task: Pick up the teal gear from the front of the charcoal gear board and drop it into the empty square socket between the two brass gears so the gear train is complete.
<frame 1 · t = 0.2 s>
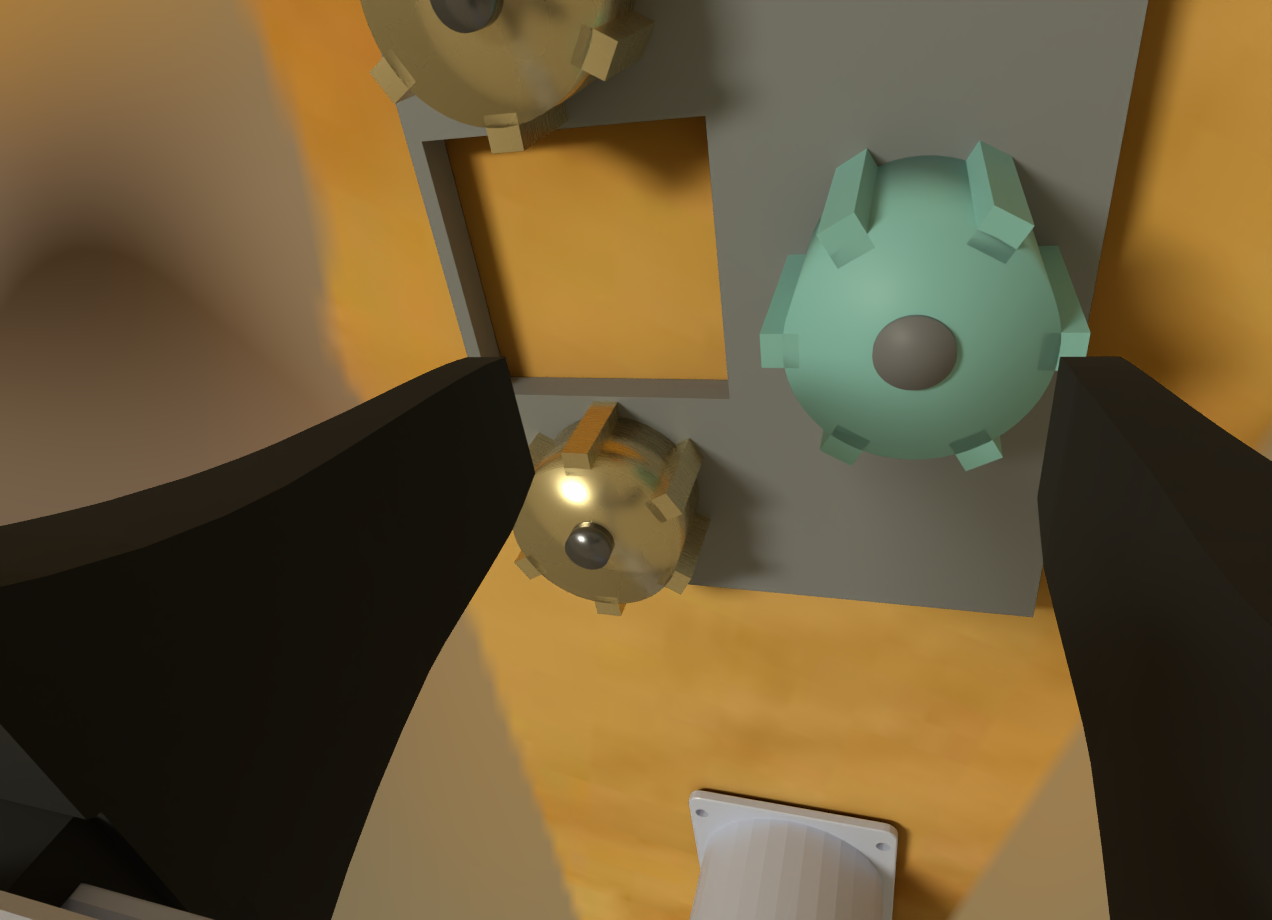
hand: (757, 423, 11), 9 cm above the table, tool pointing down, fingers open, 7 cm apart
gear board: (739, 255, 19), on the table
teal gear: (915, 266, 17), point 1 cm above the table, touching gear board
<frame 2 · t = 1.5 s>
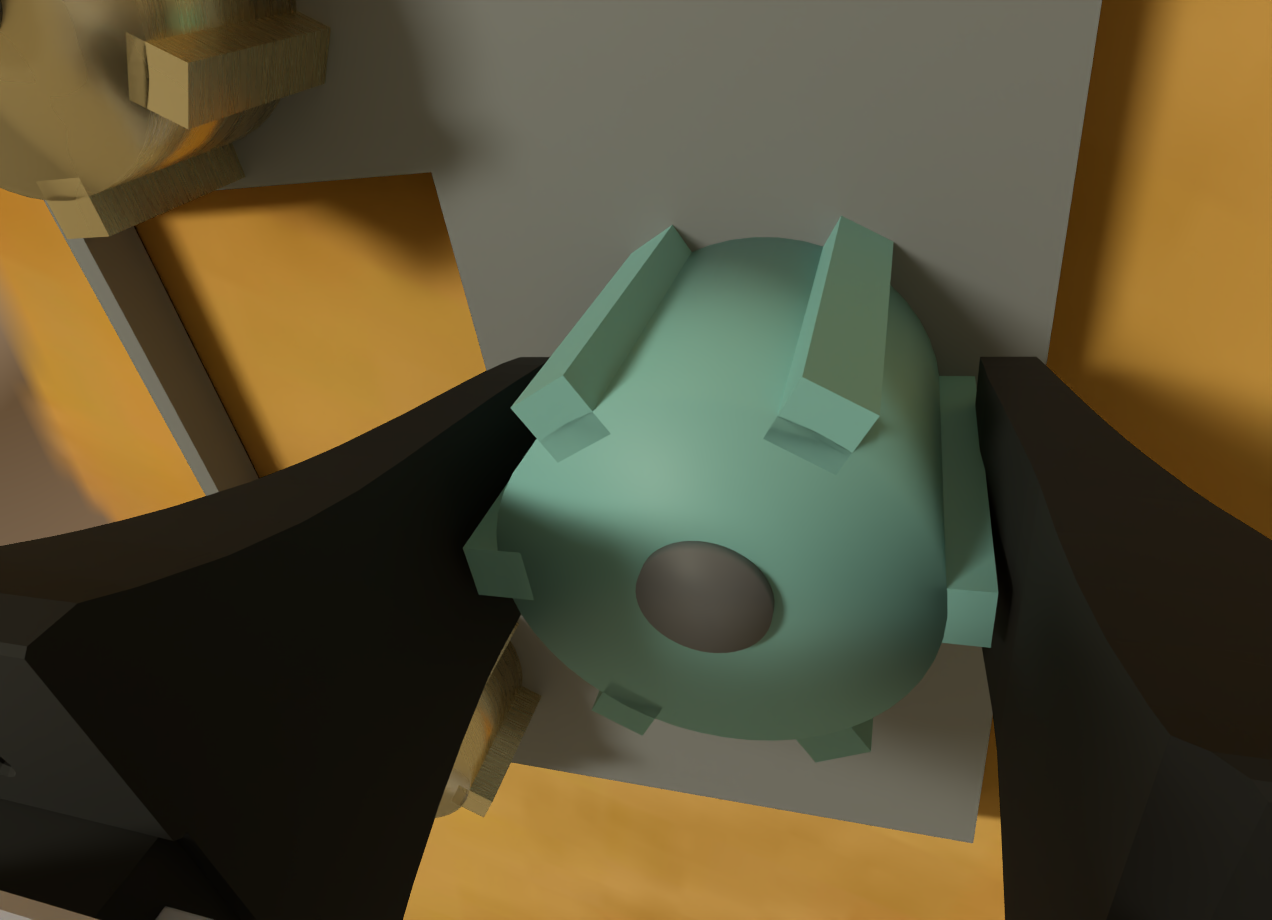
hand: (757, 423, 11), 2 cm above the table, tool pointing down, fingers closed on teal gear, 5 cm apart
gear board: (534, 362, 13), on the table
teal gear: (765, 396, 11), point 1 cm above the table, touching gear board, gripper
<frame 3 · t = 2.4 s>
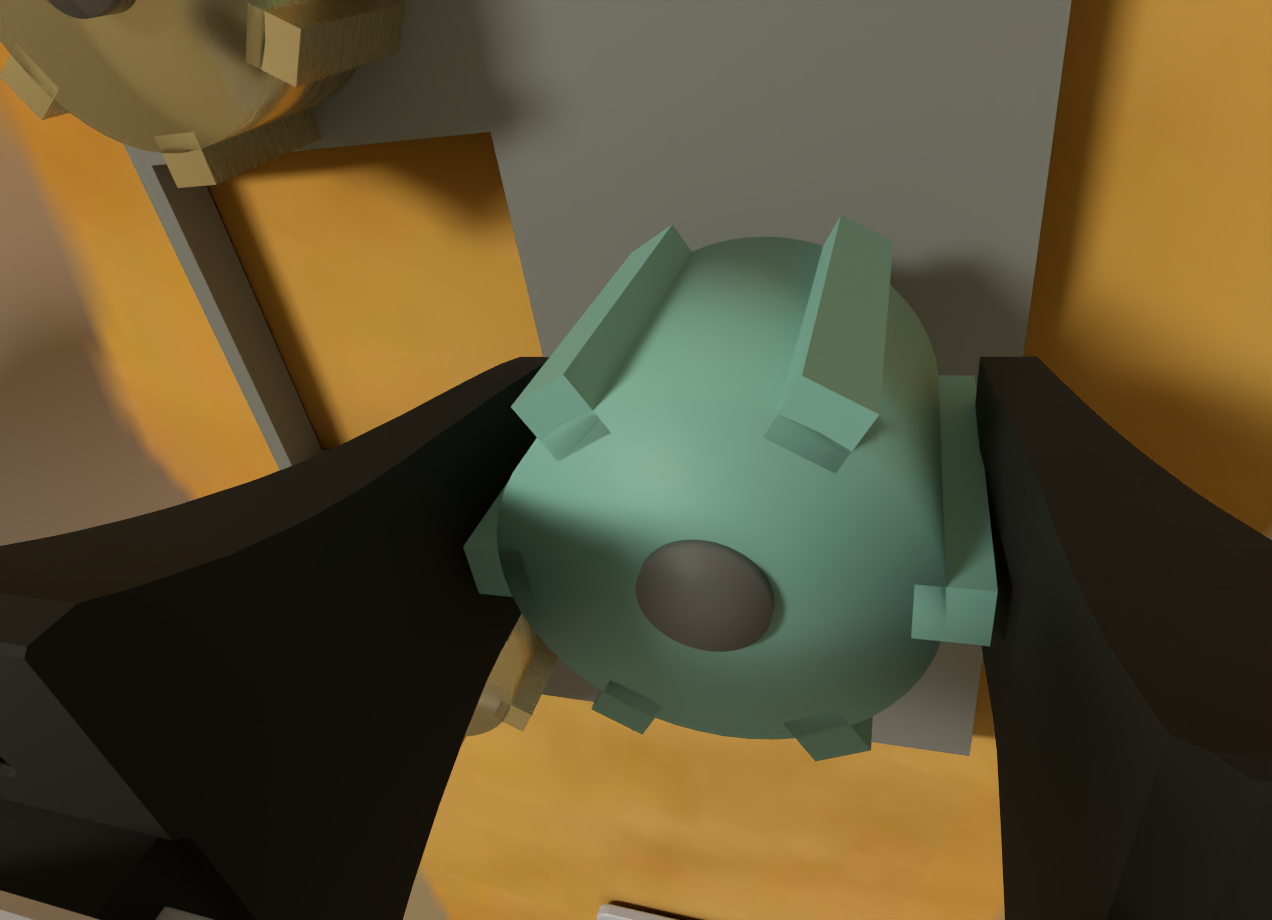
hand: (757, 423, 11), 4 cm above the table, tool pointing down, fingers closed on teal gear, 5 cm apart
gear board: (573, 310, 15), on the table
teal gear: (765, 396, 11), point 3 cm above the table, touching gripper
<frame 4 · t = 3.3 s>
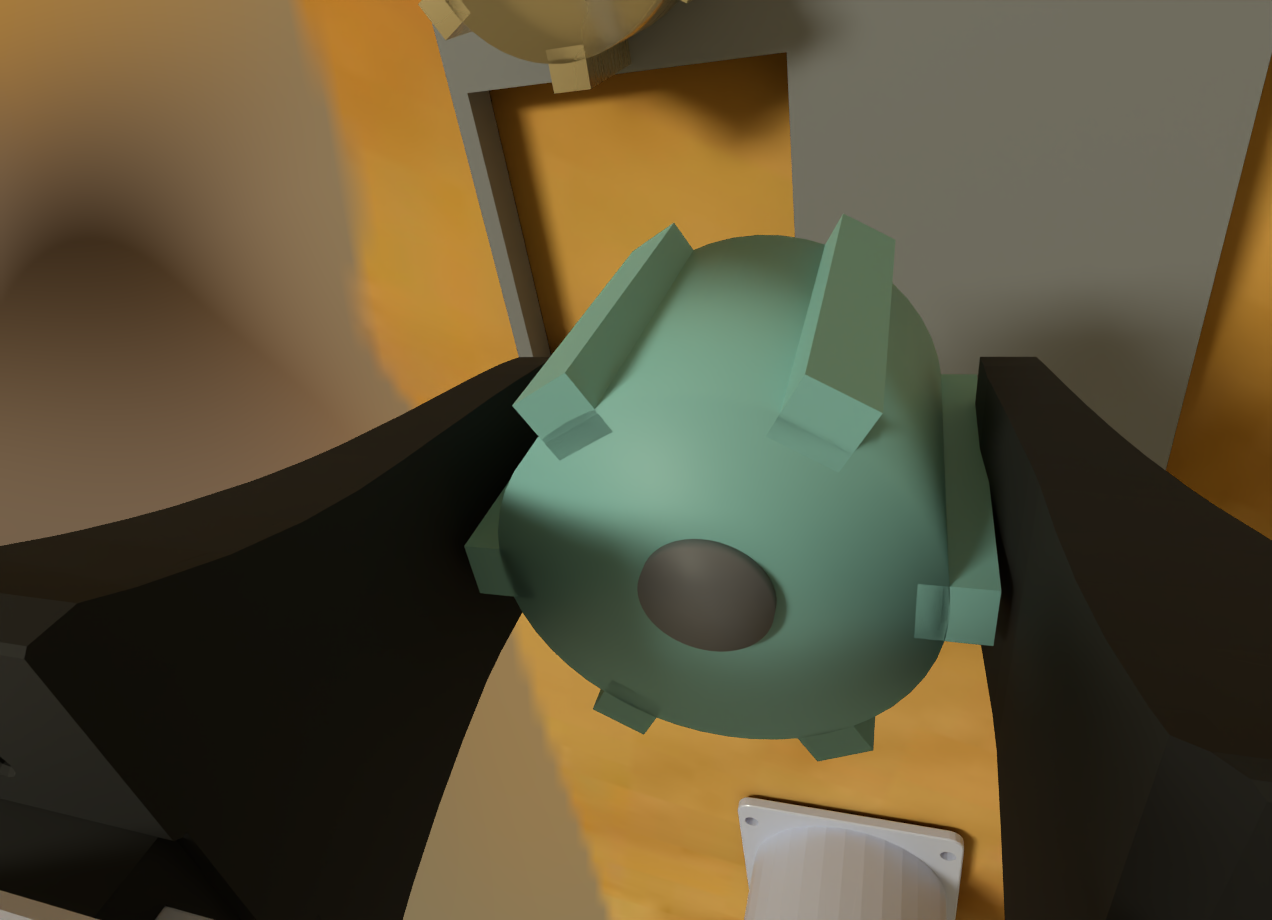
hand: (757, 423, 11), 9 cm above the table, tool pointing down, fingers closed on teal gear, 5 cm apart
gear board: (814, 213, 17), on the table
teal gear: (766, 395, 11), point 8 cm above the table, touching gripper
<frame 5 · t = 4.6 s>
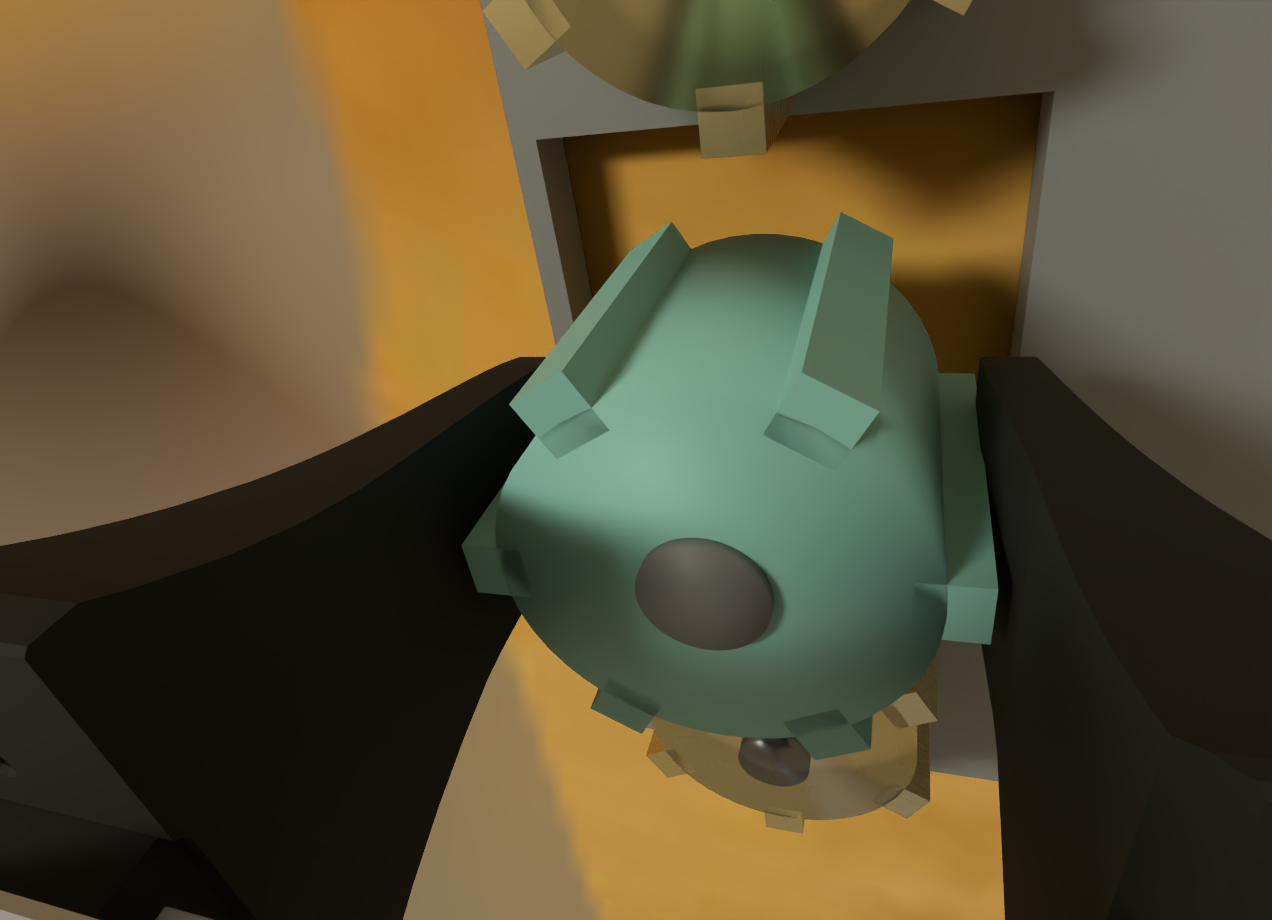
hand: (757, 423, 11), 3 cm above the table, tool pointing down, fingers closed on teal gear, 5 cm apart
gear board: (1036, 318, 12), on the table
teal gear: (764, 394, 11), point 3 cm above the table, touching gripper
when the fingers open (3 cm above the table, at t = 5.3 s): teal gear drops 2 cm, resting in gear board.
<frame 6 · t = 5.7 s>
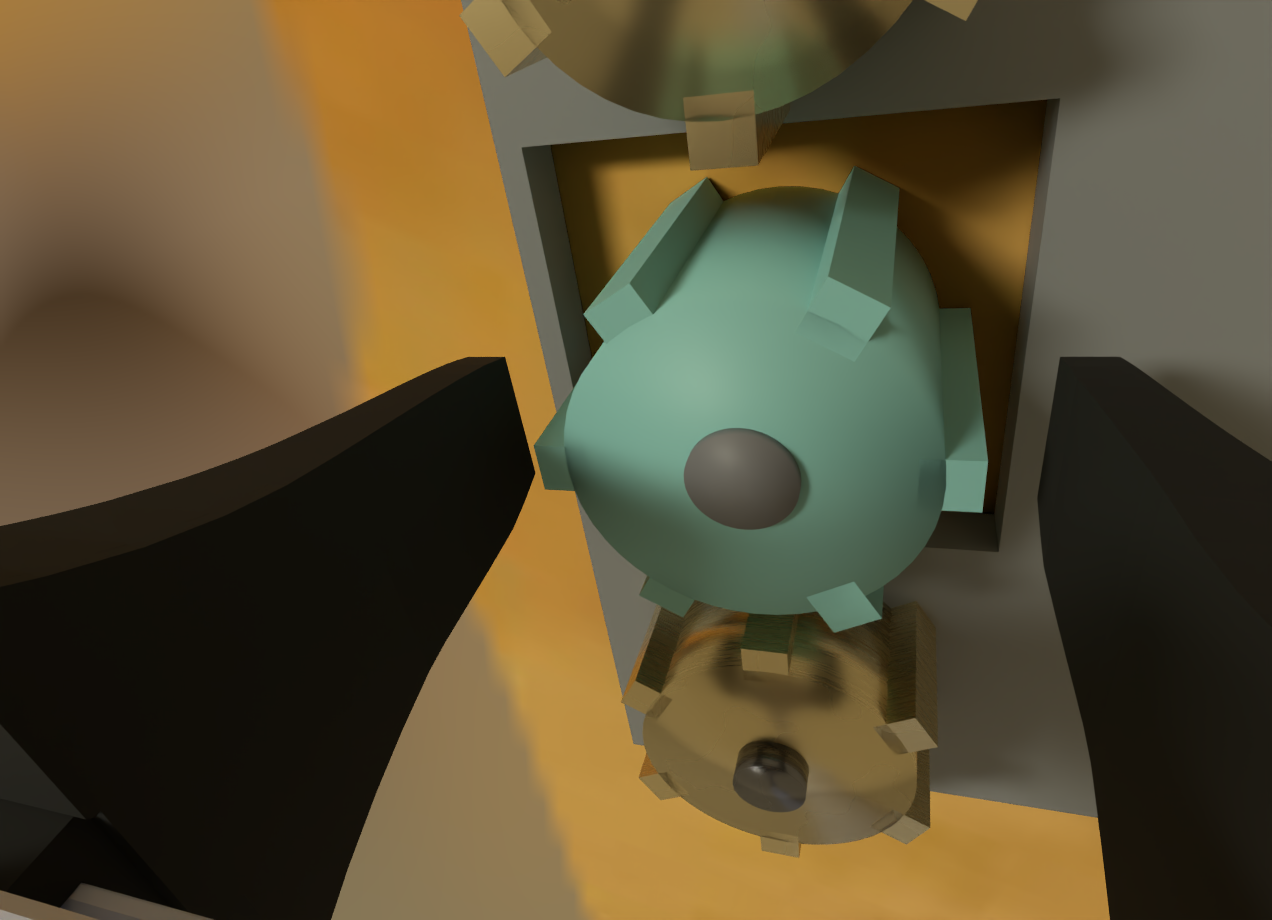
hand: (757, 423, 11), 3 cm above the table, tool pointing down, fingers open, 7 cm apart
gear board: (1040, 331, 12), on the table
teal gear: (786, 331, 13), resting in gear board
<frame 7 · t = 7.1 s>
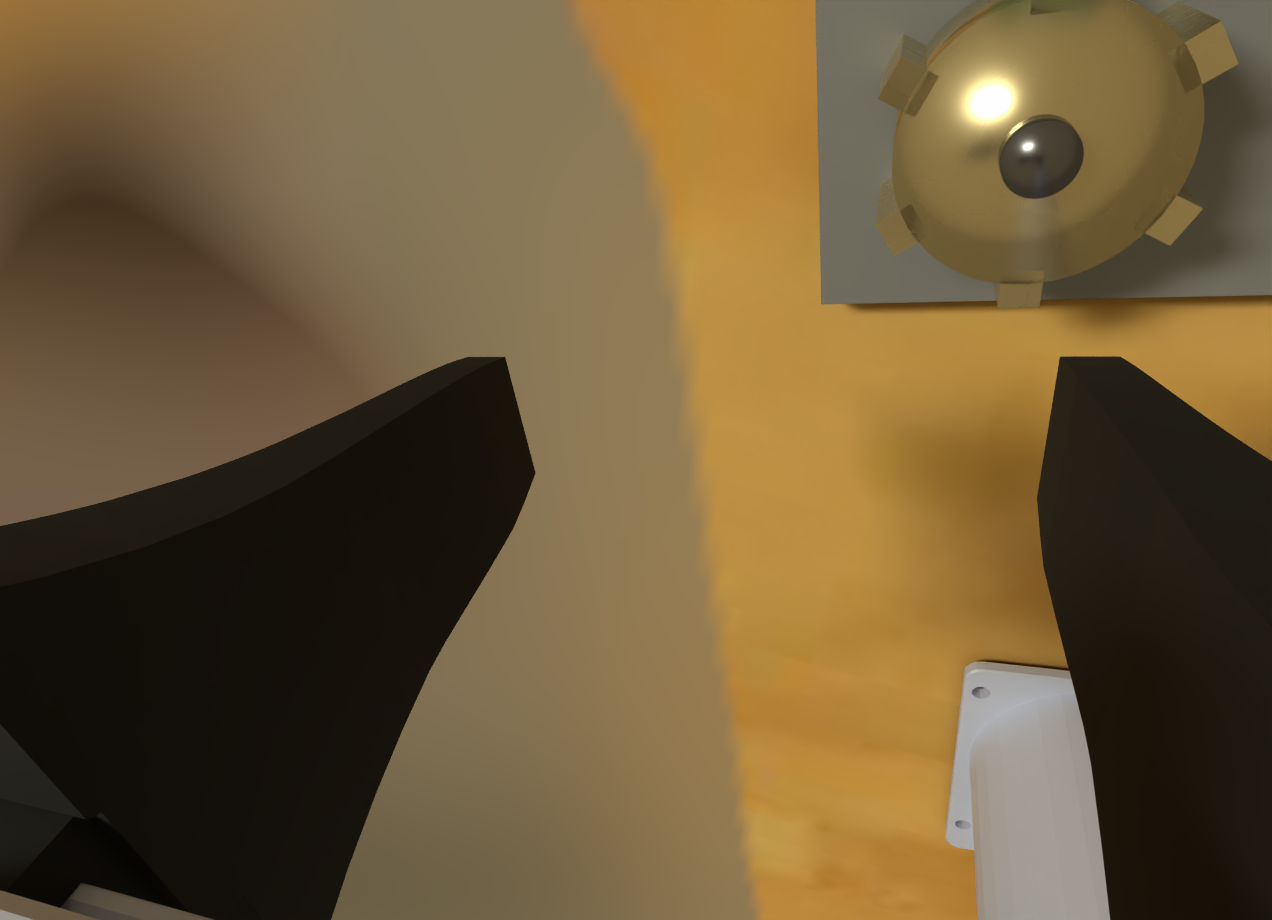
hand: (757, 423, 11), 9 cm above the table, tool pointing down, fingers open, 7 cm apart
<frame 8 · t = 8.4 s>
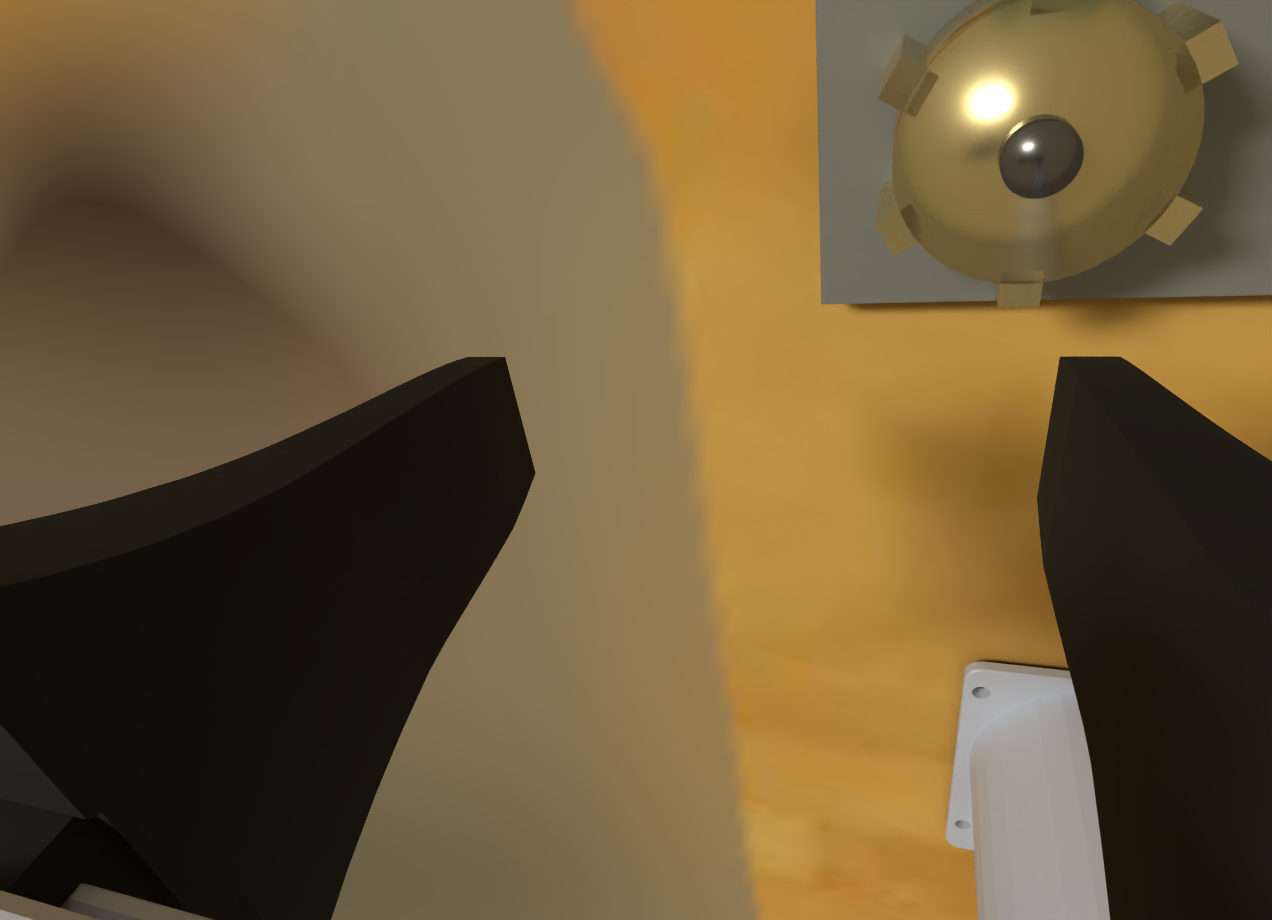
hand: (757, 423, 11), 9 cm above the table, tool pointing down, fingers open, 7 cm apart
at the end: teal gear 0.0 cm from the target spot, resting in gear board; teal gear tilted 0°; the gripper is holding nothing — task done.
